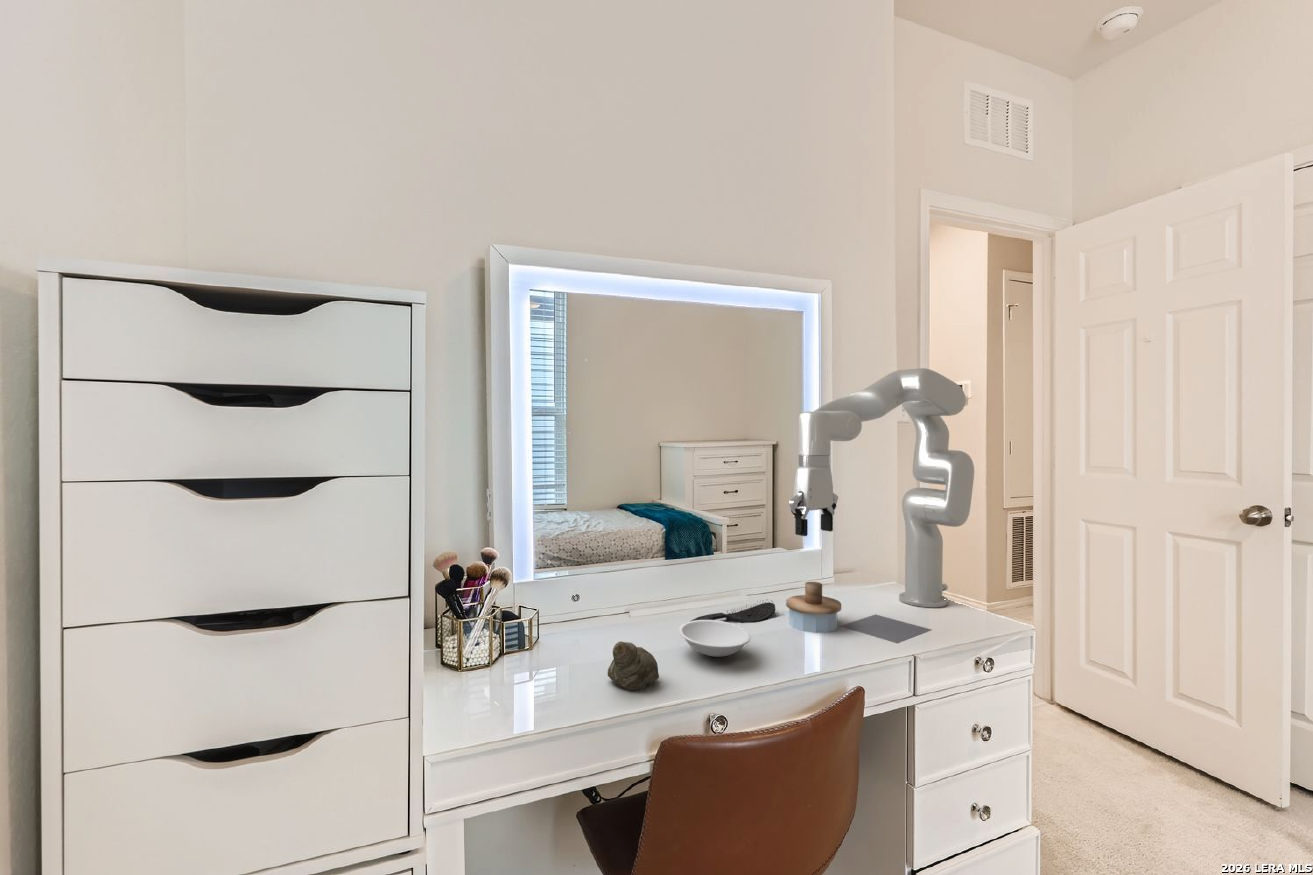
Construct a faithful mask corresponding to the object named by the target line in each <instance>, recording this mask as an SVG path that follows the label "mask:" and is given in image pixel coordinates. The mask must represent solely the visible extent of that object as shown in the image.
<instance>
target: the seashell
mask: <svg viewBox="0 0 1313 875" xmlns="http://www.w3.org/2000/svg"><path fill="white" fill-rule="evenodd" d="M612 657H613V660H612V661H611V663H610V665H609V667H608V668H607V675H606V676H607V677H609V679H610V680H611V681H612V682H613V683H615V684H616V685H617V686H619V687H623V688H625V690H628V691H630V690H632V691H642V690H643V689H645V687H646V686H652V685H653V684H655V682H656V681H657V680H658V679H659V678H660V674H659V666H658V662H657V659H656V658H655V657H654V655H653V654H652V653H651V652H650V651H647V649H645V648H644V647H642V646H636V645H635V644H634V643H632V642H629V641H622V640H621V641H618V642H616V644H615V645H614V646H613V648H612ZM641 689H642V690H641Z"/></svg>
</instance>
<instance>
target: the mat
mask: <svg viewBox="0 0 1313 875" xmlns="http://www.w3.org/2000/svg"><path fill="white" fill-rule="evenodd" d="M840 627H841V628H845V629H848V630H852V631H855V632H858V633H861V634H865V635H868V636H871V637H874V638H879V639H881V640H885V641H888V642H891V643H893V644H900V643H902V642H904V641H907V640H909V639H912V638H915V637H917V636H920V635H923V634H925V633H927V632H930V631H932V628H928V627H923V626H920V625H915V624H913V623H909V622H905V621H901V620H897V619H893V618H890V617H886V616H882V615H881V614H873V615H870V616H867V617H863V618H860V619H857V620H853V621H851V622H848V623H844V624H842V625H840Z"/></svg>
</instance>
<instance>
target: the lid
mask: <svg viewBox="0 0 1313 875" xmlns="http://www.w3.org/2000/svg"><path fill="white" fill-rule="evenodd" d="M804 586H805V587H804V594H798V595H792V596H790V597H788V598H787V599H786V600H785V602H786V603H785V606H786V607H787V608H788V609H791V610H794V611H797V612H801V613H807V614H820V615H822V614H833V613H837V614H838V613H839V612H840V611H842V602H841V601H839V600H837V599H835V598H831V597H828V596H823V583H822V582H817V581H806V582H804Z"/></svg>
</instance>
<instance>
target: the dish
mask: <svg viewBox="0 0 1313 875" xmlns="http://www.w3.org/2000/svg"><path fill="white" fill-rule="evenodd" d="M678 633H679V635H680V636H681V637H682V638H683V639H684V640H685V641H686V643H687V644H688V645H689V646H690V647H691V648H692V649H693V650H695V651H696V652H698V653H700V654H702V655H706V656H710V657H712V658H716V657H718V658H719V657H720V658H721V657H727V656H731V655H733V654H736V653H737V652H738V651H741V649H742V648H743V647H744V645H747V644H748V643H749V642H750V640H751V639H752V638H751V637H752V636H751V633H750V632H749V631H748V630H746V629H745V628H743V627H742V626H739V625H737V624H735V623H731V622H727V621H722V620H718V619H716V620H695V621H691V620H689V621H687V622H685V623H682V624H681V625H680V626H679V628H678Z"/></svg>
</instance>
